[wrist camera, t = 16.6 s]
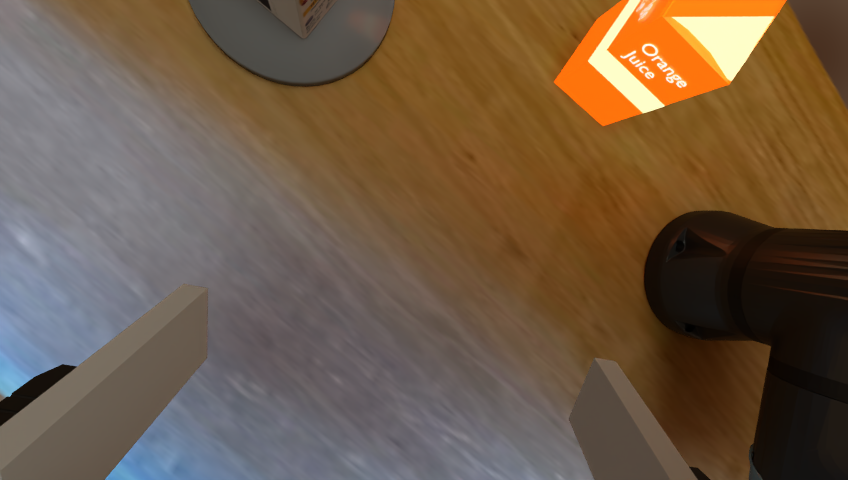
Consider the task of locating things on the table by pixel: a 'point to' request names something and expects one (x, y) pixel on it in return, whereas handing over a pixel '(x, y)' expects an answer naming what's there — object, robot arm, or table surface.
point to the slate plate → (296, 39)
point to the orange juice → (662, 53)
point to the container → (299, 13)
